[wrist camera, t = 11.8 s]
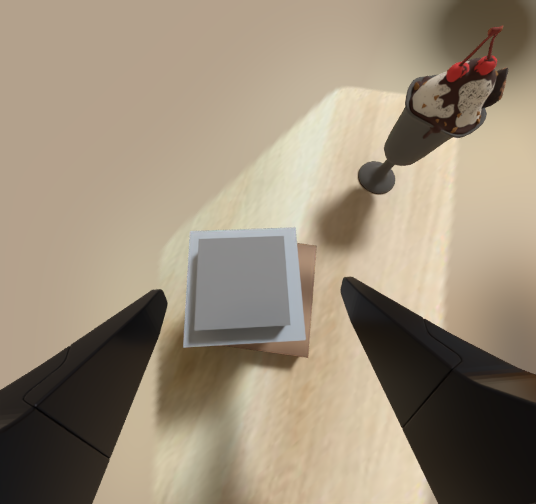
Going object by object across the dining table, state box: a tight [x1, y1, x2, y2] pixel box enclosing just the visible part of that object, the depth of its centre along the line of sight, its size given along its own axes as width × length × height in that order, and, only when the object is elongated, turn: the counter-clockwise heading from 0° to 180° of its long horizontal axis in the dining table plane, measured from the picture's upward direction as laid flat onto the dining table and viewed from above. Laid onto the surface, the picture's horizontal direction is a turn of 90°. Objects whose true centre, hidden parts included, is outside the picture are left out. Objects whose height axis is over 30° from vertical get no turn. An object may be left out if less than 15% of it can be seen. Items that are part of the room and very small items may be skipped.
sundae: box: [359, 26, 508, 194], centre depth 18 cm, size 7×7×15 cm
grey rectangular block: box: [183, 228, 306, 347], centre depth 14 cm, size 6×6×11 cm
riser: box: [222, 243, 316, 358], centre depth 21 cm, size 11×11×3 cm
